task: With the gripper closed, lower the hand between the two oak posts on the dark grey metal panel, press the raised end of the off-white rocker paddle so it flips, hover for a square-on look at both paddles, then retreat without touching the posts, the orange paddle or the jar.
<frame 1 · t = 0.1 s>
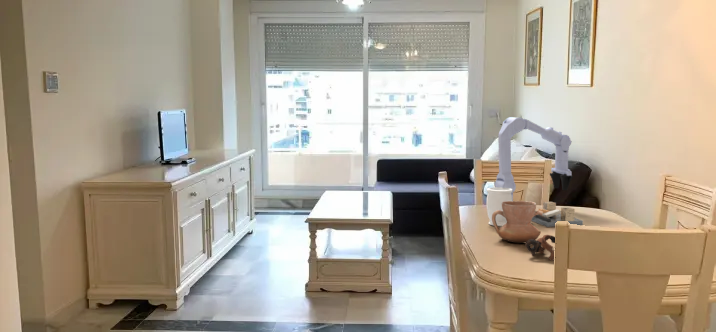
hand: (560, 189, 272), 10 cm above the table, tool pointing down, fingers open, 7 cm apart
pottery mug: (543, 257, 190), on the table
panel: (553, 221, 246), on the table
paddle white: (551, 214, 246), point 3 cm above the table, hinge at -14.0°
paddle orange: (547, 212, 249), point 3 cm above the table, hinge at 14.0°
ceramic jug: (516, 241, 213), on the table
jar: (498, 224, 241), on the table
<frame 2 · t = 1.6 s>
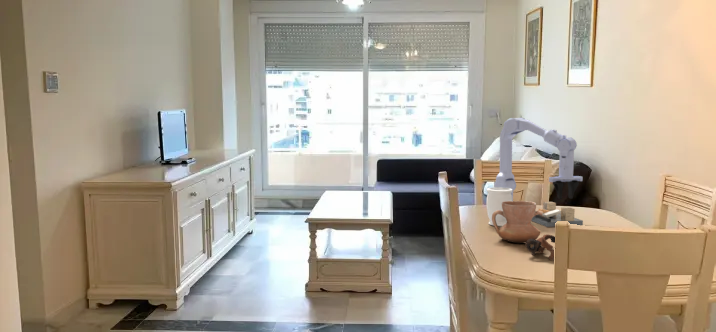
hand: (565, 198, 246), 10 cm above the table, tool pointing down, fingers open, 4 cm apart
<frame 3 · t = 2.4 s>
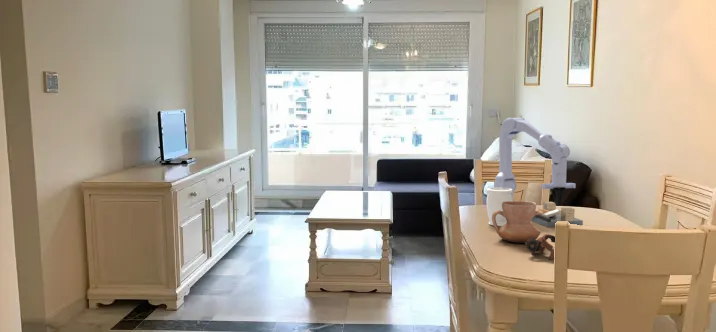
hand: (558, 205, 246), 7 cm above the table, tool pointing down, fingers closed
nothing on the table moved.
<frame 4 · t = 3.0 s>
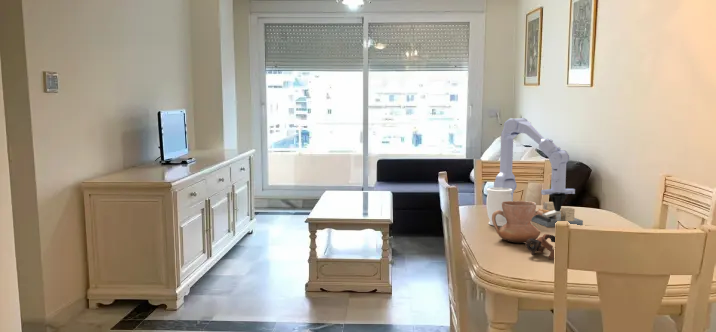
hand: (557, 211, 246), 5 cm above the table, tool pointing down, fingers closed, pressing on paddle white
paddle white: (551, 214, 246), point 3 cm above the table, hinge at -14.0°, touching gripper
everything else where it was.
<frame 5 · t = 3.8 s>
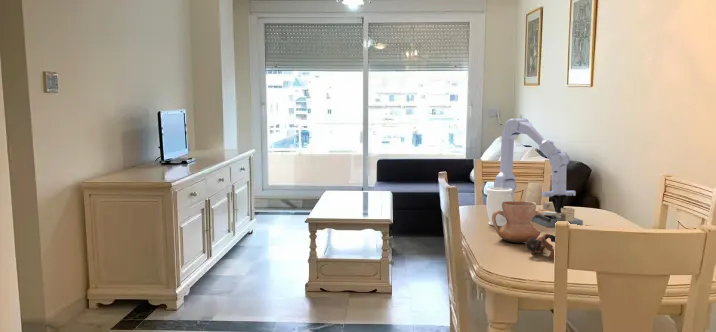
hand: (558, 213, 246), 4 cm above the table, tool pointing down, fingers closed, pressing on paddle white
paddle white: (551, 214, 246), point 3 cm above the table, hinge at 5.7°, touching gripper
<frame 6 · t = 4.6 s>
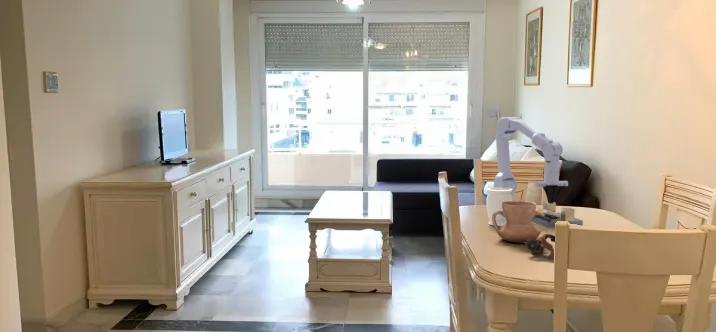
hand: (550, 203, 247), 8 cm above the table, tool pointing down, fingers closed
paddle white: (551, 214, 246), point 3 cm above the table, hinge at 17.5°, touching panel
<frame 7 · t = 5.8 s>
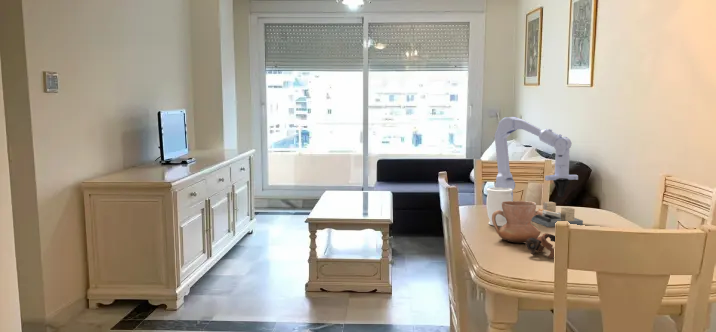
hand: (560, 196, 251), 10 cm above the table, tool pointing down, fingers closed
paddle white: (551, 214, 246), point 3 cm above the table, hinge at 13.8°
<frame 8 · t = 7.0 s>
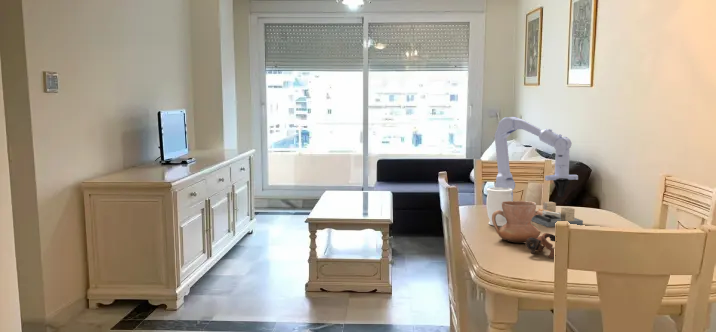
hand: (560, 196, 251), 10 cm above the table, tool pointing down, fingers closed
paddle white: (551, 214, 246), point 3 cm above the table, hinge at 11.9°
at the end: paddle white at +12° (first picture: -14°); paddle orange at +14° (first picture: +14°); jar moved 0.2 cm from its start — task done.
